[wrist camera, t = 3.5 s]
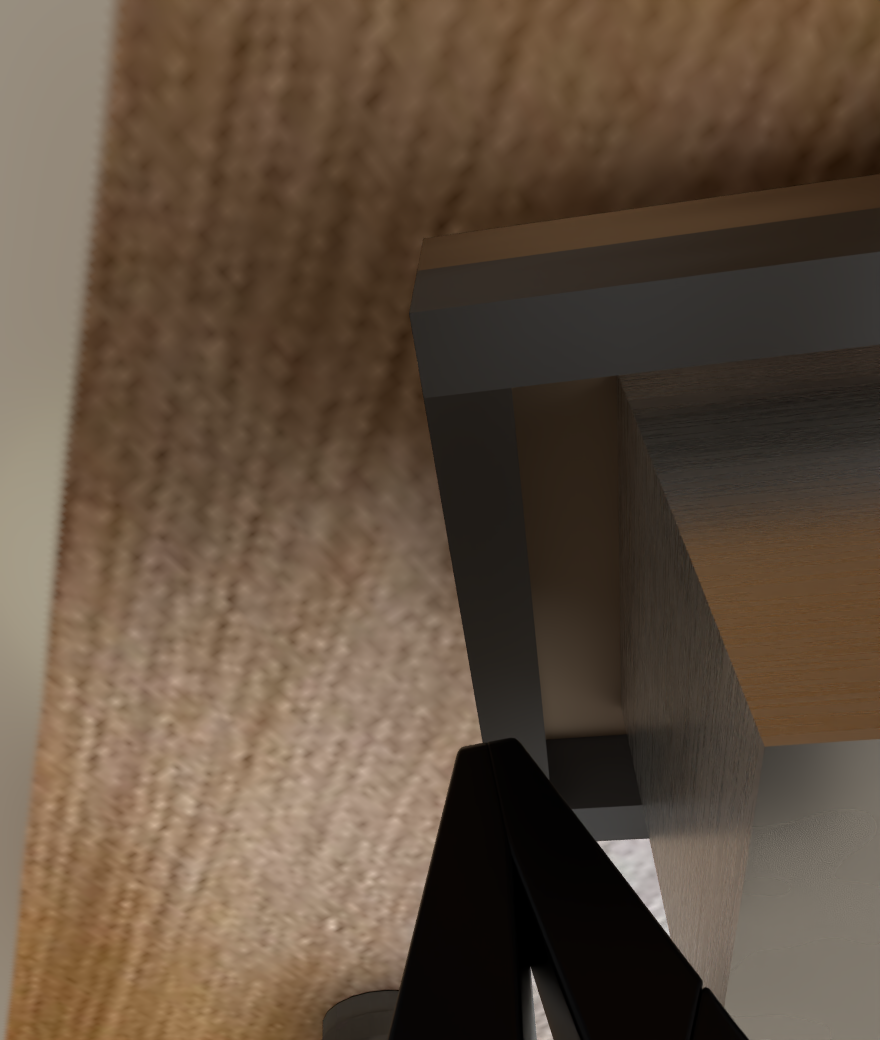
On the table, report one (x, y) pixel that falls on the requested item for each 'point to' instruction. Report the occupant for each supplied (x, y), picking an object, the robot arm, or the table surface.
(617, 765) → the grey tray
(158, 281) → the table surface
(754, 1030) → the steel rider
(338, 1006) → the beverage cup
